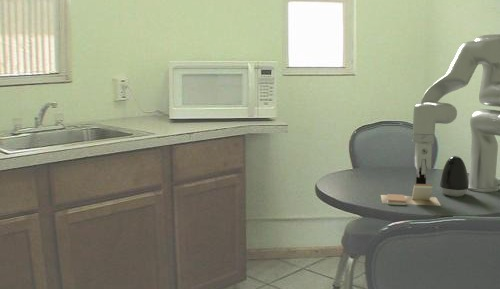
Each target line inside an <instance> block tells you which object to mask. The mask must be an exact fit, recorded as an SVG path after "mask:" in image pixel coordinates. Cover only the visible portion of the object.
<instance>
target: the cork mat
mask: <svg viewBox="0 0 500 289" xmlns="http://www.w3.org/2000/svg"><path fill="white" fill-rule="evenodd" d="M404 197H405V199H406V205H415V206H419V205H420V206H434V207H435V206H437V207H442V205H441V203H440V202H439V200H438V198H437V197H435V196H430V200H416V199H412V195H404ZM380 200H381V203H382V204H388V202H387V194H380Z"/></svg>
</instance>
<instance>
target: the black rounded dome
mask: <svg viewBox="0 0 500 289" xmlns="http://www.w3.org/2000/svg"><path fill="white" fill-rule="evenodd" d="M439 178H440V179H439V184H438V185H439V187H440V190H441V193H443V195H445V196H448V197H454V198H455V197H457V198H458V197H463V196H464V195H465V194H466V193H467V191H468V190H469V189H468V187H469V183H468V182H469V175H468V172H467V167H466V164H465V162H464V160H463V159H462V158H461V157H460V156H457V155H453V156H450V157H449V158H448V159H447V161H446V162H445V164H444V166H443V168H442V172H441V174H440V177H439Z"/></svg>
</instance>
